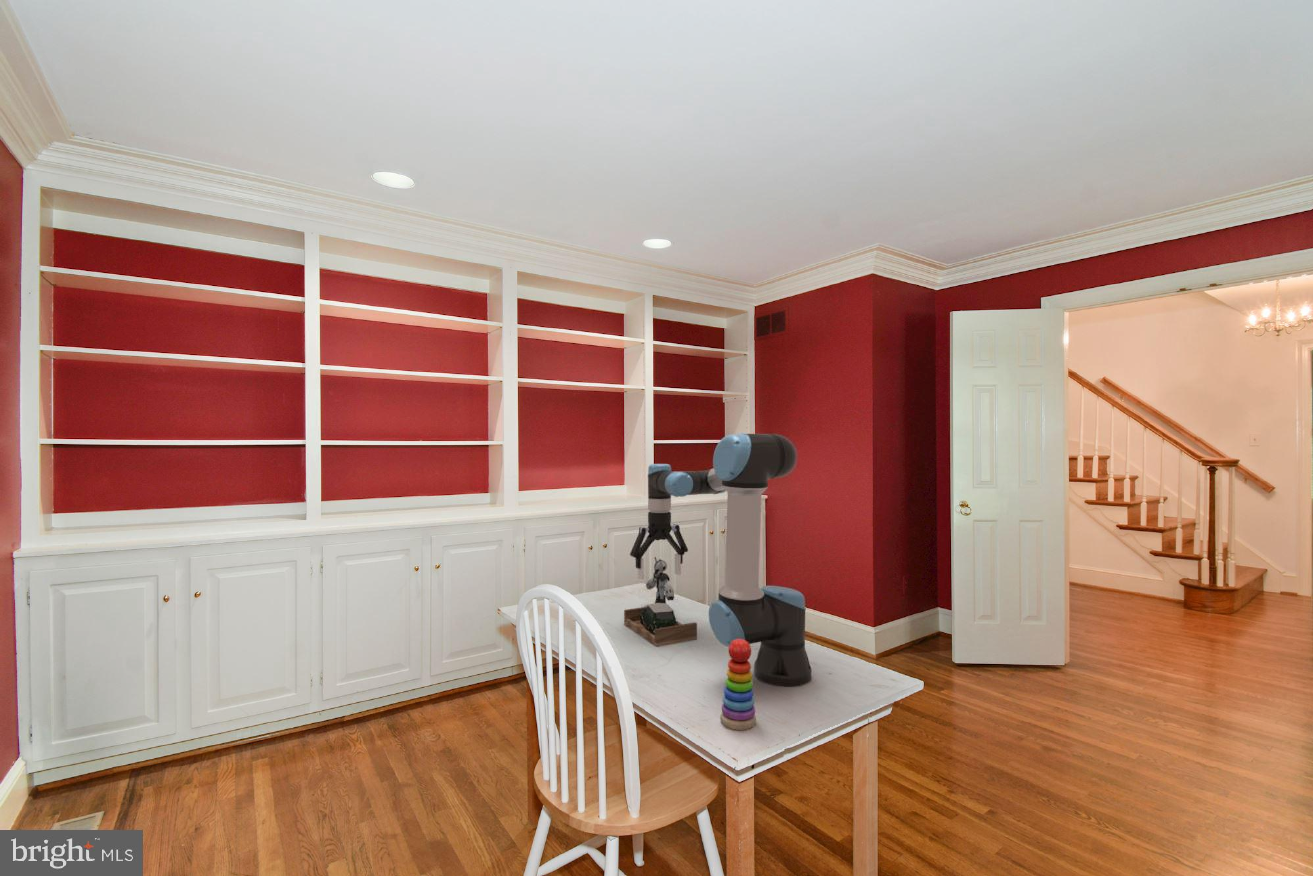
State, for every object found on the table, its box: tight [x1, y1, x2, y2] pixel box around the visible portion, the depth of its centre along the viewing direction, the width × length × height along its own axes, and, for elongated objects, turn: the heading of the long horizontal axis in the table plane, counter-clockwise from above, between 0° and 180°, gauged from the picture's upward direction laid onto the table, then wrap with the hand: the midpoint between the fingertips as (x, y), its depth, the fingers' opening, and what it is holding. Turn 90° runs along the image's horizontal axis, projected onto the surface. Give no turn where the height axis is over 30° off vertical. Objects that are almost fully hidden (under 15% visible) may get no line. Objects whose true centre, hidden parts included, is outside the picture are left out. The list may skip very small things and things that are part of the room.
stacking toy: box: [719, 639, 757, 731], centre depth 132 cm, size 8×8×19 cm
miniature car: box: [640, 602, 678, 635], centre depth 193 cm, size 9×18×8 cm, turn 15°
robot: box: [645, 556, 675, 604], centre depth 214 cm, size 20×5×20 cm, turn 26°
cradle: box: [623, 606, 698, 647], centre depth 193 cm, size 23×14×5 cm, turn 28°
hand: (659, 576), depth 193 cm, fingers open, 13 cm apart
